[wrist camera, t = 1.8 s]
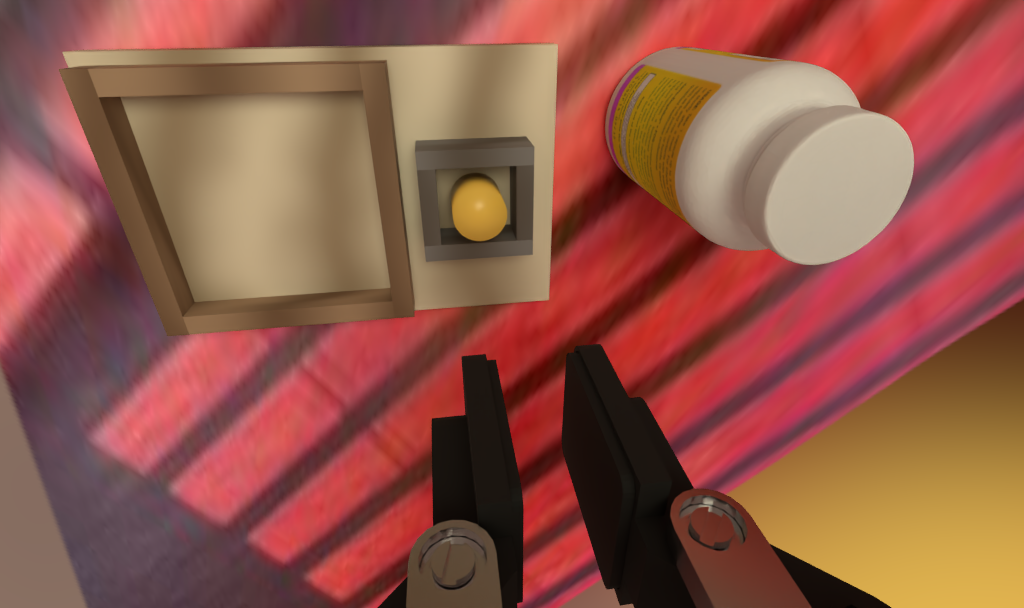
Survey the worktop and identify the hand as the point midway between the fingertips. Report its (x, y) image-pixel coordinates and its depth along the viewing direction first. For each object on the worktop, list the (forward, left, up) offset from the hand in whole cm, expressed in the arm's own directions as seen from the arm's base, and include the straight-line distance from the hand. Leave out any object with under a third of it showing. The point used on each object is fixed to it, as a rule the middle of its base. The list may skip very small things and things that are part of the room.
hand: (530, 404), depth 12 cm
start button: (0, 0, -15) cm, 15 cm away
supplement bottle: (-10, -3, -17) cm, 20 cm away
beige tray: (+6, 0, -17) cm, 18 cm away
